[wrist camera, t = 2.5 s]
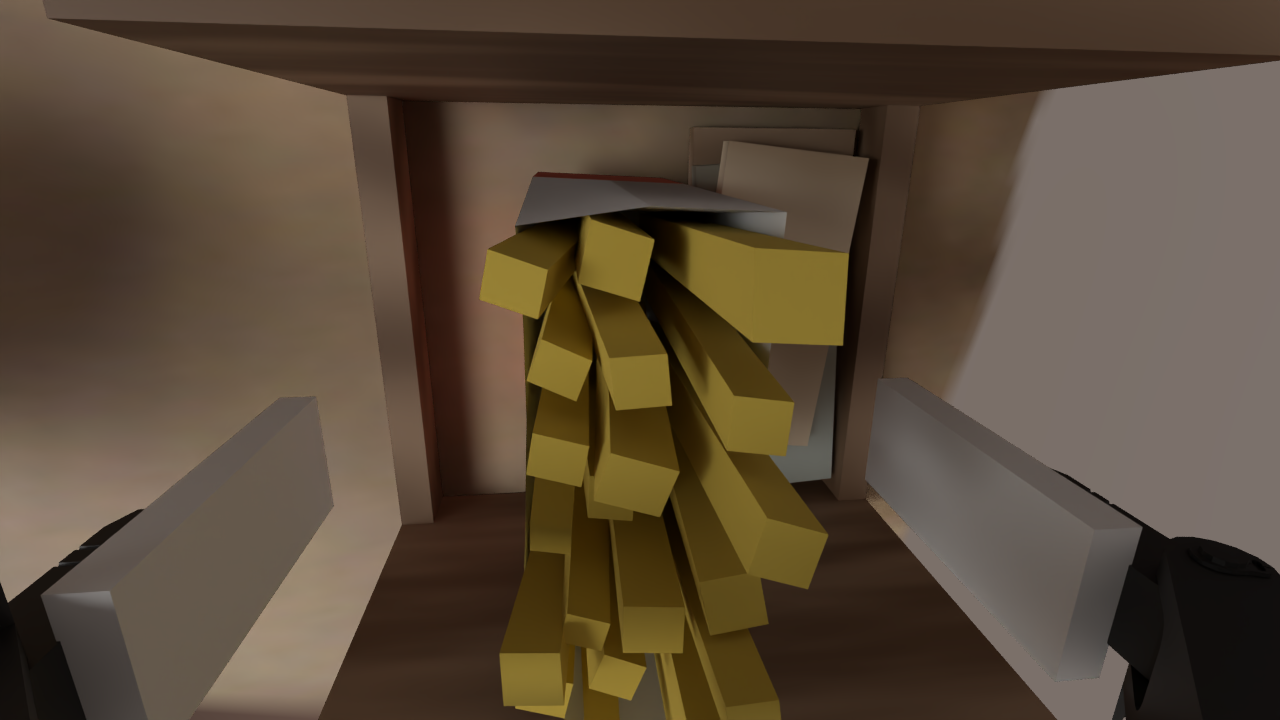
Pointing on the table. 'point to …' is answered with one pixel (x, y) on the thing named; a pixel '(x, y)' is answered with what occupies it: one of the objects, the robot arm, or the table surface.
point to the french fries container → (655, 443)
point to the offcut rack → (722, 163)
